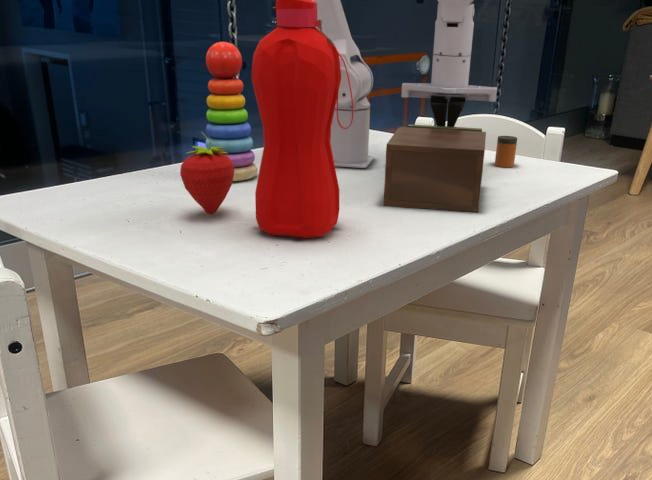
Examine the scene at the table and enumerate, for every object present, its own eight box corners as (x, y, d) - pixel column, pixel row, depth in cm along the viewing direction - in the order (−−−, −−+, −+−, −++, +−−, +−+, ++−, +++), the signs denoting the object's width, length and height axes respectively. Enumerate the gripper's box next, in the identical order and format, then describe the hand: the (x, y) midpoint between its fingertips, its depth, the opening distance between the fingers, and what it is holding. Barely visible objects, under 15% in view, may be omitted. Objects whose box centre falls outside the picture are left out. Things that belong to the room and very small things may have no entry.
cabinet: (395, 182, 109) (398, 126, 105) (479, 188, 107) (486, 131, 104) (383, 205, 97) (386, 143, 94) (477, 212, 95) (484, 150, 92)
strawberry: (172, 217, 90) (164, 134, 85) (210, 204, 95) (205, 125, 91) (210, 225, 87) (204, 140, 83) (247, 211, 93) (243, 130, 88)
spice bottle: (494, 166, 121) (497, 138, 119) (494, 162, 124) (497, 135, 121) (513, 168, 120) (517, 139, 118) (513, 164, 123) (517, 136, 121)
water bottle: (341, 245, 82) (347, -2, 70) (249, 236, 84) (239, -6, 72) (357, 222, 90) (364, -3, 78) (272, 215, 92) (267, -6, 80)
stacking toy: (267, 174, 111) (263, 42, 103) (238, 185, 105) (232, 45, 96) (224, 168, 114) (217, 39, 106) (193, 178, 108) (183, 41, 99)
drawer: (409, 159, 120) (411, 119, 117) (478, 163, 118) (482, 123, 115) (396, 182, 105) (399, 138, 102) (475, 188, 103) (480, 143, 101)
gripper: (401, 54, 107) (396, 148, 113) (500, 59, 105) (489, 154, 111) (406, 51, 113) (401, 140, 119) (500, 55, 111) (490, 145, 117)
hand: (444, 146), depth 116 cm, fingers closed, pressing on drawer
